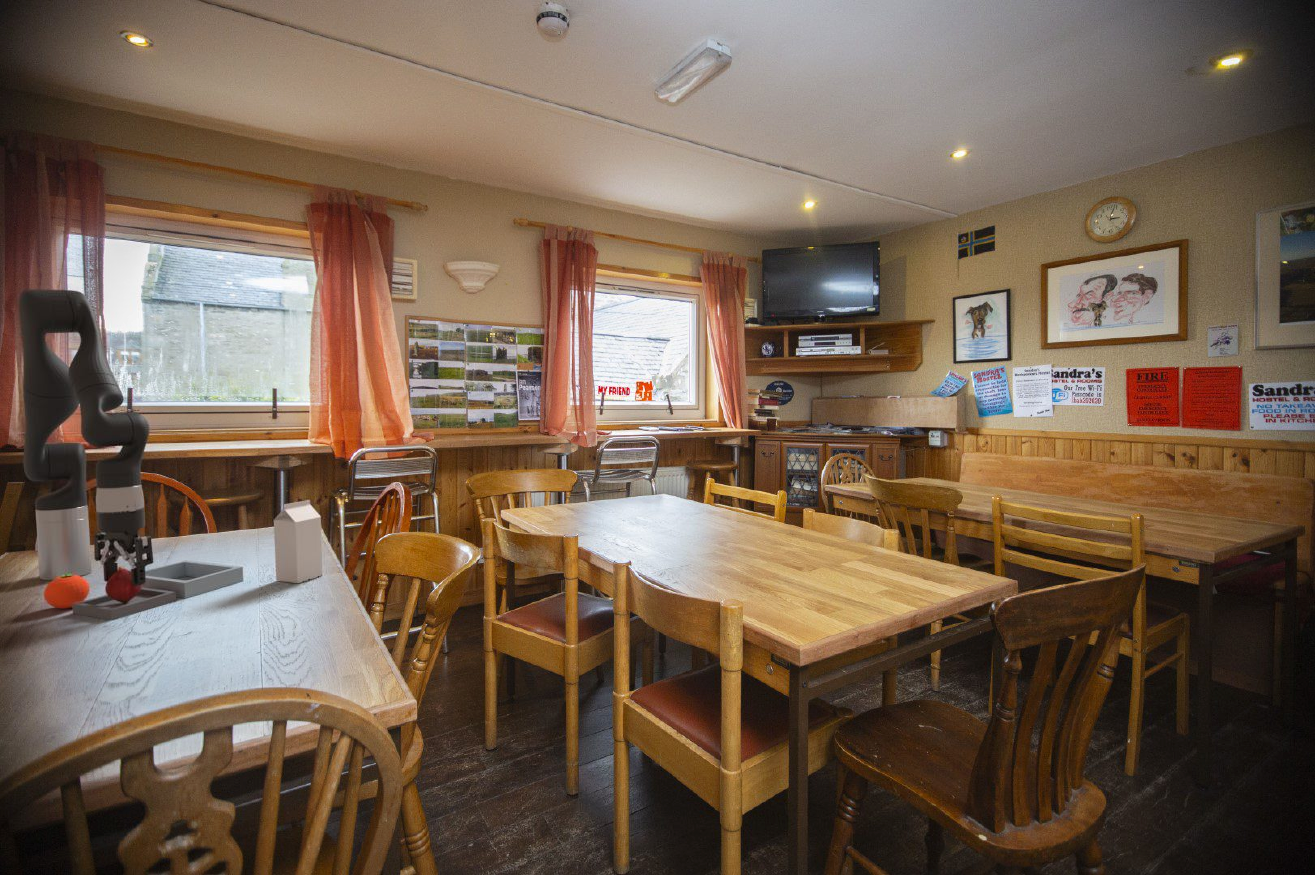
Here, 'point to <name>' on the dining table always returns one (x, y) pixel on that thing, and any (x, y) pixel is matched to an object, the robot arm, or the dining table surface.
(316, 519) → the milk carton
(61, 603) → the clementine
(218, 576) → the shallow gray box
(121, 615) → the tray
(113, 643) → the dining table surface
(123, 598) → the onion
